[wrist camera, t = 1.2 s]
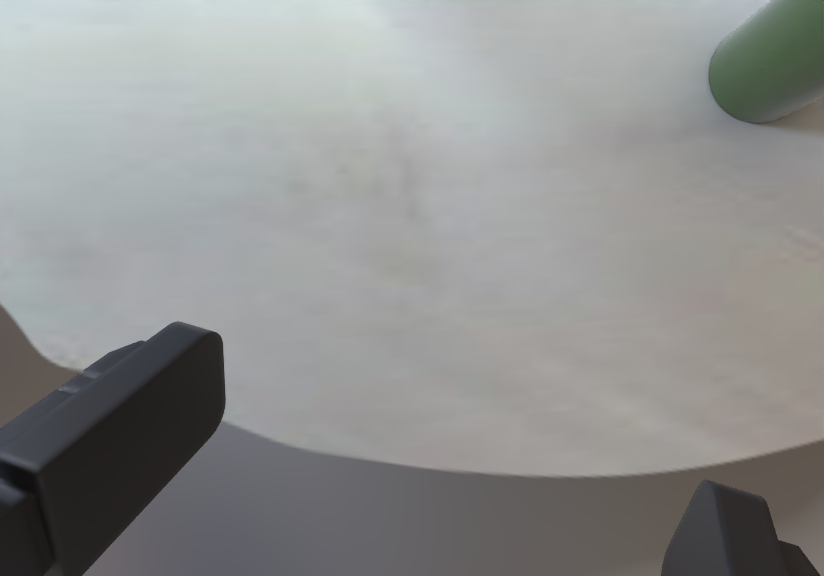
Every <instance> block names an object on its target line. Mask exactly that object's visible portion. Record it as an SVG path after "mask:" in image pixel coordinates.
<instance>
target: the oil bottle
mask: <svg viewBox="0 0 824 576" xmlns="http://www.w3.org/2000/svg"><path fill="white" fill-rule="evenodd" d="M709 83H710V87H711V91H712V93H713V96H714V97H715V99H716V101H717V102H718V104H719V105H720V106H721V107H722V108H723V109H724V110H725V111H726V112H727V113H728V114H730V115H731V116H733V117H735V118H737V119H739V120H742V121H746V122H750V123H766V122H771V121H774V120H777V119H780V118H782V117H784V116H786V115H788V114H790V113H792V112H794V111H796V110H798V109H800V108H802V107H804V106H806V105H808V104H811V103H813V102H815V101H817V100H819V99H821V98H823V97H824V0H770V1H769V2H767V3H766V4H765V5H764V6H763V7H762V8H760V9H759V10H758V11H757V12H756V13H755V14H753V15H752V16H751V17H750V18H749V19H748V20H746V21H745V22H744V23H743V24H742V25H741V26H739V27H738V28H737V29H736V30H735V31H733V32H732V33H731V34H730V35H729V36H728V37H727V38H725V39H724V40H723V41H722V42H721V44H720V45H719V46H718V48H717V49H716V51H715V53H714V55H713V57H712V60H711V63H710V68H709Z"/></svg>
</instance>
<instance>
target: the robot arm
mask: <svg viewBox="0 0 824 576" xmlns="http://www.w3.org/2000/svg"><path fill="white" fill-rule="evenodd" d="M225 401H226V399H225V377H224V356H223V342H222V338H221V336H220V335H219V334H218V333H216V332H213V331H210V330H207V329H203V328H200V327H196V326H193V325H190V324H186V323H183V322H173V323H171V324H170V325H168V326H167V327H165V328H164V329H162V330H161V331H160V332H158V333H157V334H156V335H154V336H153V337H151V338H150V339H149V340H147V341H146V342H145V341H138V342H136V343H133V344H130V345H128V346H125V347H122V348H120V349H117V350H115V351H112V352H109V353H108V354H106V355H105V356H104V357H102V358H101V359H99V360H98V361H96V362H95V363H93V364H92V365H91V366H89V367H88V368H86V369H85V370H83V374H82V375H79V374H78V375H77V376H75V377H74V378H72V379H71V380H69V381H68V382H66V383H65V384H63V385H62V388H61V389H60V390H55V391H53V392H52V393H50V394H49V395H48V396H46V397H45V398H43V399H42V400H40V401H39V402H38V403H36V404H35V405H33V406H32V407H30V408H29V409H27V410H26V411H25V412H23V413H22V414H20V415H19V416H17V417H16V418H15V419H13V420H12V421H10V422H9V423H7V424H6V425H4V426H3V427H2V428H0V576H82V575H83V574H84V573H85V572H86V571H87V570H88V569H89V567H90V566H91V565H92V564H93V563H94V562H95V561H96V560H97V559H98V558H99V557H100V556H101V555H102V554H103V552H104V551H105V550H106V549H107V548H108V547H109V546H110V545H111V544H112V543H113V542H114V541H115V540H116V538H117V537H118V536H119V535H120V534H121V533H122V532H123V531H124V530H125V529H126V528H127V526H129V524H130V523H131V522H132V521H133V520H134V519H135V518H136V517H137V516H138V515H139V514H140V513H141V512H142V511H143V509H144V508H145V507H146V506H147V505H148V504H149V503H150V502H151V501H152V500H153V499H154V498H155V496H156V495H157V494H158V493H159V492H160V491H161V490H162V489H163V488H164V487H165V486H166V485H167V484H168V482H169V481H170V480H171V479H172V478H173V477H174V476H175V475H176V474H177V473H178V472H179V470H181V468H182V467H183V466H184V465H185V464H186V463H187V462H188V461H189V460H190V459H191V458H192V457H193V456H194V454H195V453H196V452H197V451H198V450H199V449H200V448H201V447H202V446H203V445H204V444H205V442H206V441H207V440H208V439H209V438H210V437H211V436H212V435H213V434H214V432H215V431H216V429H217V427H218V426H219V424H220V422H221V419H222V417H223V413H224V409H225ZM661 576H820V574H819V573H818V572H817V570H816V569H815V568H814V566H813V565H812V564H811V562H810V561H809V560H808V558H807V557H806V556H805V554H804V553H803V552H802V550H801V549H800V548H799V546H796V545H793V544H790V543H786V542H783V541H779V540H778V539H777V535H776V532H775V528H774V525H773V522H772V519H771V515H770V511H769V508H768V505H767V503H766V501H765V499H764V498H763V497H762V496H759V495H756V494H753V493H750V492H746V491H743V490H739V489H736V488H733V487H729V486H726V485H723V484H719V483H716V482H713V481H709V480H704V481H702V482H701V483H700V484H699V486H698V488H697V489H696V491H695V493H694V495H693V497H692V499H691V501H690V503H689V505H688V507H687V509H686V511H685V513H684V515H683V517H682V519H681V521H680V523H679V525H678V527H677V529H676V531H675V533H674V535H673V537H672V539H671V542H670V544H669V546H668V548H667V551H666V553H665V557H664V561H663V565H662V572H661Z"/></svg>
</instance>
